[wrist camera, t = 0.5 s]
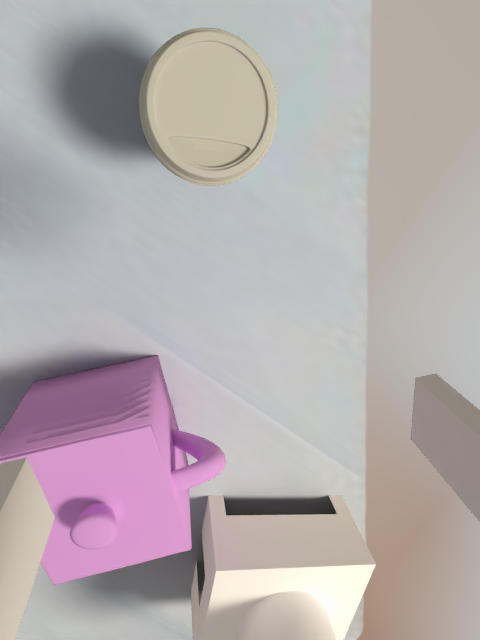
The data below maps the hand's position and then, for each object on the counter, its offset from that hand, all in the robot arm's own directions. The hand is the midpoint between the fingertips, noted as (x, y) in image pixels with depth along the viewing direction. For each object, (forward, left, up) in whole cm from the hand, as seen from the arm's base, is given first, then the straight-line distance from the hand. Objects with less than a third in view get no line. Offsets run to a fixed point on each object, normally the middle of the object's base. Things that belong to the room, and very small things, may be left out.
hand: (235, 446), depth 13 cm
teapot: (+18, -13, -27) cm, 35 cm away
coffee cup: (-11, +2, -27) cm, 29 cm away
